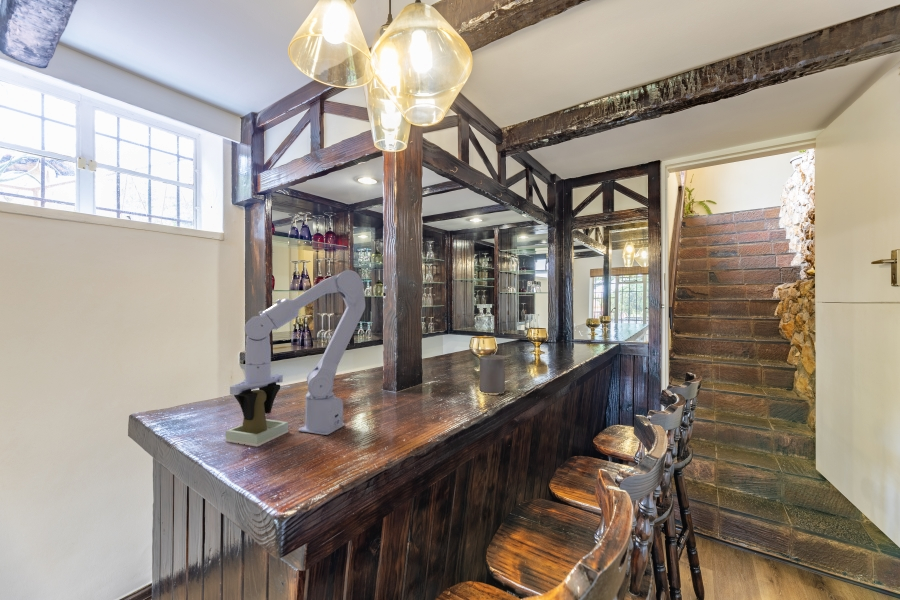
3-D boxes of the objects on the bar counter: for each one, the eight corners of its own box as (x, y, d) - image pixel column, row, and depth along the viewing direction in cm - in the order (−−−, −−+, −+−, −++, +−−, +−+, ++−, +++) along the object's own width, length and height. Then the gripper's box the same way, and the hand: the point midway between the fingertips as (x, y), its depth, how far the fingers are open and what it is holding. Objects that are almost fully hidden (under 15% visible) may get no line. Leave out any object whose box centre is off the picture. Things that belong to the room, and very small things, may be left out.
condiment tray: (288, 432, 94) (288, 422, 94) (257, 446, 85) (257, 435, 85) (258, 427, 98) (258, 418, 98) (225, 441, 88) (225, 430, 88)
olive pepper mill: (256, 438, 88) (257, 394, 88) (234, 437, 89) (236, 392, 89) (272, 430, 94) (273, 388, 94) (252, 429, 95) (253, 387, 95)
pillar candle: (479, 388, 141) (479, 351, 141) (504, 389, 140) (504, 351, 140) (479, 395, 132) (479, 355, 132) (505, 396, 131) (505, 355, 131)
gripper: (268, 358, 99) (268, 406, 99) (220, 367, 86) (220, 423, 86) (288, 359, 97) (288, 409, 97) (242, 369, 83) (242, 426, 83)
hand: (257, 416), depth 91 cm, fingers closed on olive pepper mill, 5 cm apart
